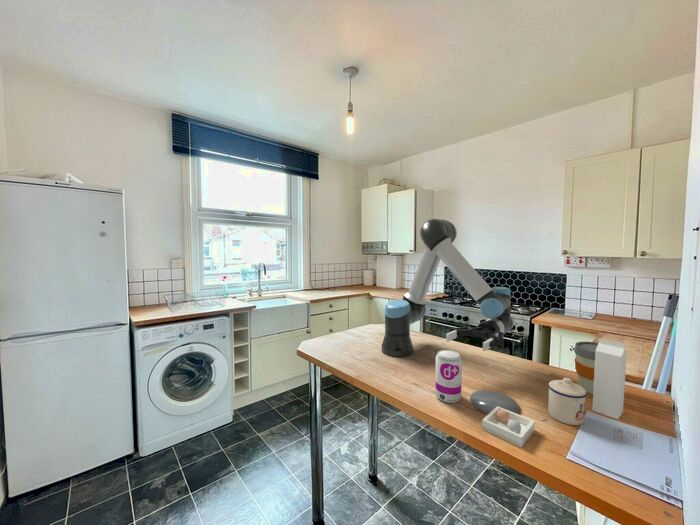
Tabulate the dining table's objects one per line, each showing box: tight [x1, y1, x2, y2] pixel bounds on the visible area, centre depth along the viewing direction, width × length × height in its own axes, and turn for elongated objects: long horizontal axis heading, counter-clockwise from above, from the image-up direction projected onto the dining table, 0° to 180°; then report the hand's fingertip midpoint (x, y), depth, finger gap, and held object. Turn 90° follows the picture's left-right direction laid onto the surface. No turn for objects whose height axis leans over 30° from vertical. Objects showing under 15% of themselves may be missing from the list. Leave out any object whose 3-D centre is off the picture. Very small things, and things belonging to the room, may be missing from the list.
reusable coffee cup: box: [573, 341, 599, 395], centre depth 101 cm, size 12×13×15 cm
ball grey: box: [508, 420, 521, 434], centre depth 78 cm, size 3×3×3 cm
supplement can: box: [434, 349, 463, 404], centre depth 98 cm, size 8×8×15 cm
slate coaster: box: [469, 389, 520, 415], centre depth 94 cm, size 14×14×1 cm
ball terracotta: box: [497, 410, 509, 422], centre depth 83 cm, size 3×3×3 cm
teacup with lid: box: [547, 377, 588, 426], centre depth 87 cm, size 12×9×12 cm
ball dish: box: [481, 406, 536, 448], centre depth 81 cm, size 10×10×3 cm
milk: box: [592, 338, 628, 420], centre depth 88 cm, size 6×6×22 cm
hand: (464, 342), depth 103 cm, fingers open, 13 cm apart
